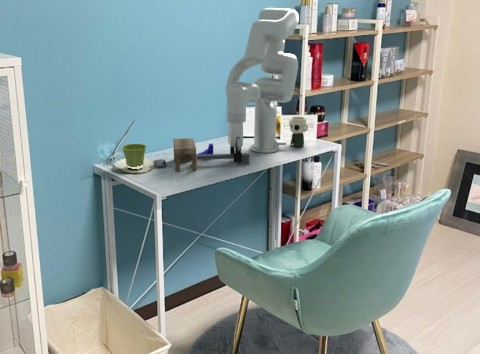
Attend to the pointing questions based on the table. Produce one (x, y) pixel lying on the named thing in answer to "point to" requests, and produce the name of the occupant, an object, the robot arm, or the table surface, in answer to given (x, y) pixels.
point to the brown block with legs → (184, 152)
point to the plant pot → (134, 154)
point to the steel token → (159, 163)
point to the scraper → (223, 157)
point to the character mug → (298, 130)
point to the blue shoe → (208, 151)
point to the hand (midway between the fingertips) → (235, 158)
